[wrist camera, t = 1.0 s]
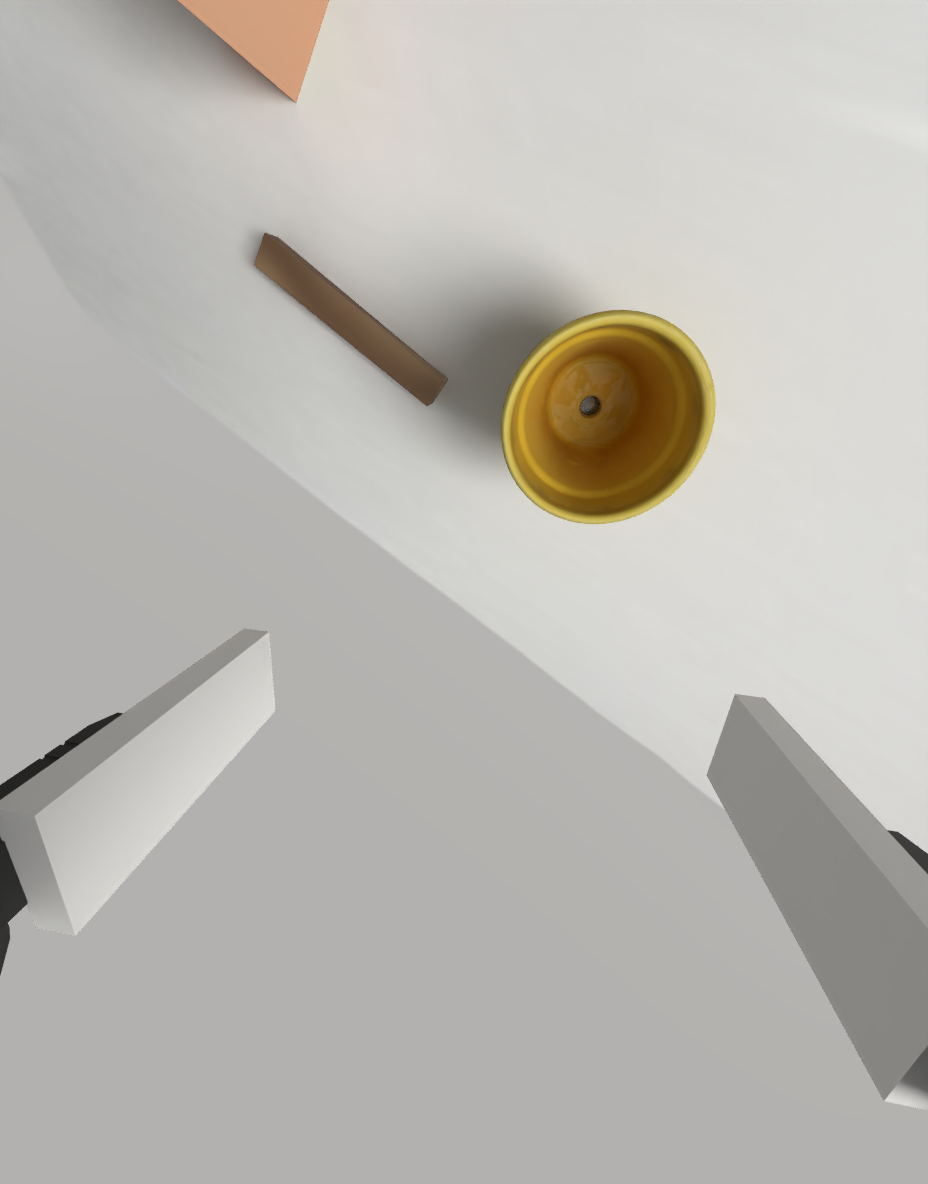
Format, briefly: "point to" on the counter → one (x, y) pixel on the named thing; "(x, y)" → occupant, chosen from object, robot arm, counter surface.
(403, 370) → the wooden plank
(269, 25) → the block
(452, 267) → the counter surface
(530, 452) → the plant pot
